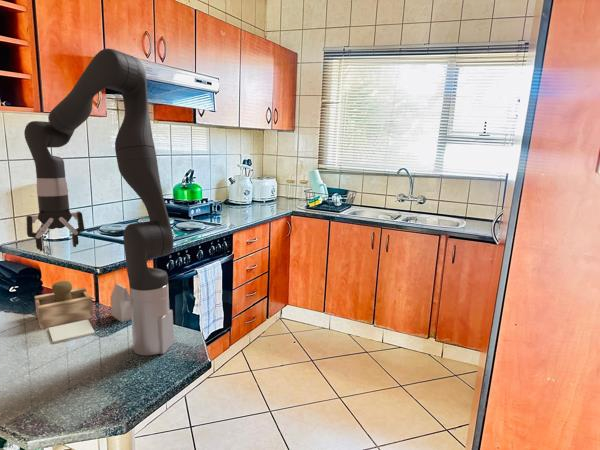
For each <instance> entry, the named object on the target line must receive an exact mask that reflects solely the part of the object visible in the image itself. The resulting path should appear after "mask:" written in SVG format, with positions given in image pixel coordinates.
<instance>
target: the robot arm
mask: <svg viewBox="0 0 600 450" xmlns="http://www.w3.org/2000/svg"><path fill="white" fill-rule="evenodd" d="M105 89H109V90H112V91H116V92H120V93H121V95H122V100H123V108H124V116H123V120H122V123H121V124H120V125H121V126H120V127H119V129H118V132H117V135H116V137H115V141H114V151H115V156H116V163H117V166H118V167H117V168H118V171H119V173H120V175H121V176H122V178H123V180H124V181H125V182H126V183H127V184H128V186H129V187H130V188H131V189H132V190H133V191H134V192H135V193H136V194H137V196H138V197H139V198H140V200H141V201H142V202H143V204H144V206H145V209H146V211H147V215H148V218H149V221H143V222H134V223H129V224H127V225H126V226H125V228H124V231H123V248H124V255H125V263H126V265H125V266H126V273H127V278H128V284H129V295H130V304H131V330H132V346H133V347H132V349H133V352H134V353H135V354H137V355H140V356H154V355H159V354H160V355H164V354H165V353H166V352H167V351H168V350H169V349H170V348H171V347H172V345H174V343H175V336H174V335H175V334H174V332H175V331H174V314H173V313H174V311H173V309H170V298H169V297H170V296H169V275H168V273H167V271H166V270H163V269H160V268H156V267H149V266H148V263H147V260H150V259H155V258H160V257H165V256H168V255H170V254H171V253H172V251H173V250H174V249H173V248H174V234H173V229H172V225H171V221H170V217H169V213H168V210H167V206H166V203H165V197H164V194H163V190H162V183H161V178H160V171H159V165H158V160H157V152H156V148H155V142H154V138H153V131H152V125H151V119H150V118H151V117H150V111H149V100H148V98H149V97H148V84H147V74H146V70H145V67H144V65H143V63H142V61H141V60H140V59H138V57H136V56H134V55H130V54H128V53H126V52H125V53H124V52H122V51H119V50H116V49H114V48H103V49H101V50H100V51H99V52H97V53H96V54H95V55H94V56H93V58H92V59H91V61H89V63H88V65H87V66H86V68H85V69H84V71H83V73H82V74H81V75H80V77H79V78H78V80H77V81H76V83H75V85H74V86H73V88H72V89H71V90H70V92H69V93H67V95H66V96H65V97H64V98H63V99H61V101H60V102H58V104H57V105H55V106H54V108H52V110H51V111H50V112H49V114H48V121H43V120H42V121H41V120H34V121H33V120H32V121H30V122H28V123H27V124H26V126H25V129H24V134H23V135H24V139H25V143H26V145H27V148H28V149H29V152H30V154H31V156H32V157H31V158H32V159H33V161H34V166H35V174H36V176H35V177H36V193H37V203H38V214H37V215H30V214H27V215H26V217H25V219H26V235H27V237H29V238H33V239H35V247H36V249H37V250H39V252H43V251H44V248H43V247H44V246H43V239H42V236H43V235H44V233H45V232H46V231H47V229H49V230H55V229H63V228H67V229H68V230H69V231H70V232H71V242H72V247H73V248H77V246H78V245H79V234H80V233H83V232H85V225H84V218H83V213H82V211H80V210H78V211H75V212H71V210H70V204H69V201H70V200H69V189H68V182H67V180H66V179H67V178H66V167H65V162H64V161H65V160H64V159H63V158H62V157H61V156H56V155H52V154H51V153H50V150H49V148H61V147H64V146H66V145H67V144H68V143H69V142H70V141H71V138H72V136H73V135H74V133H75V131H76V129H78V128H79V127H80V126H81V125H83V124H84V123H85V122H86V120H87V119H88V118H89V117H90V115H91V114H92V111H93V103H94V98H95V96H96V95H97V94H99V93H100V92H102V91H103V90H105ZM72 217H73V218H74V220H76V221H77V225H78V226H77V228H75V227H74V226H72V225H71V223H69V222H70V220H71V219H72ZM37 220H38V221H39V222H40V223H41V224H40V226H39V228H38V229H37V231H36V232H33V231H34V230H33V228H34V227H33V226H34V225H33V224H35V223H36V221H37Z"/></svg>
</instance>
